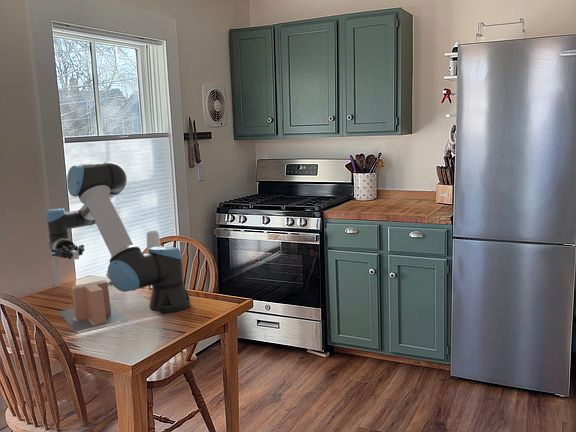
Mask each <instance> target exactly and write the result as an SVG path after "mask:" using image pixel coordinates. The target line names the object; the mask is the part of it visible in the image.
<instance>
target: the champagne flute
mask: <svg viewBox="0 0 576 432" xmlns="http://www.w3.org/2000/svg"><path fill="white" fill-rule="evenodd" d="M161 244H162V243H161V240H160V234H159V231H158V230H149V231H147V232H146V254H147V253H149V252H148V250H149V248H151V247H162V245H161ZM150 288H151V289H153V288H152V285H150Z"/></svg>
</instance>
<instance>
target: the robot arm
mask: <svg viewBox="0 0 576 432" xmlns="http://www.w3.org/2000/svg"><path fill="white" fill-rule="evenodd" d="M66 175H67V177H66V185H67V190H68V193H69V194H70V196H71V197H75V198H76V197H78V198H79V202H81V203H82V204H83V205H82V206H81V208H79V209H77V210H70V211H65V210H66V209H65V208H62V207H60V208H52V209H48V210H47V211H46V224H47V230H48V237H49V239H48V240H49V241H48V246H49V250H50V251H51V252H50V253H51V256H52V257H58V258H62V259H68V260H72V259H73V260H75V261H76V260H79V259H80V256H82V255H83V252H85V251H86V250H85V246H84V244H81V245H76V244H75V243H74V242H73V241H71V240H70V239H69V234H68V233H69V232H68V230H71V229H76V228H83V227H92V226H93V225H96V226H97V228H98V229H97V230H98V231H99V233H100V236H101V237H102V240H103V241H104V243H105V245H106V247H107V249H108V252H109V254H110V259H109V264H108V267H107V271H108V273H109V278H110V279H109V278H108V279H109V280H110V282H111V284H112V285H113V286H114V287H115V289H117V290H118V291H120V292H124V293H125V292H134V291H137V290H140V289H142V288H146V287H151V286H152V288H151V289H152V291H151V296H150V300H149V304H148V305H149V309H150V310H152V311H155V312H160V313H161V314H167V313H168V314H170V313H176V312H179V311H183V310H185V309H187V308H189V307H190V306H191V299H190V296H189V294H188V293H189V292H188V291H187V290H186V287H185V283H184V282H185V281H184V272H183V263H182V262H183V261H182V260H183V259H182V255H181V250H180V248H177V247H174V246H161V247H151V248H149V250H148V252H149V253H147V252H146V253H143V252H142V249H141V248H140V247H138V246H135V245H134V243H133V241H132V239H131V238H130V235H129V232H128V231H127V229H126V228H125V225H124V223H123V221H122V218H120V215H119V213H118V211H117V210H116V207H115V206H114V203H113V201H112V199H113V198H114V197H115V196H118V195H119V194H121V193H122V191H124V189H125V187H126V185H127V182H128V178H127V173H126V172H125V169H124V168H123V167H122V166H121V165H119V164H118V163H116V162H112V161H103V162H95V163H94V162H93V163H85V164H83V163H79V164H76V165H72V166H71V167H70V168H69V169H68V172H67V174H66Z"/></svg>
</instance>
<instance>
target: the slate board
mask: <svg viewBox="0 0 576 432" xmlns="http://www.w3.org/2000/svg"><path fill="white" fill-rule="evenodd" d="M110 307H111V314H108V315H106V321H107V322H106V323H102V324H98V325H95V324H94V323H93V322H92V321H91V320H90V319H85V320H81V321H77V320H76V319H75V314H74V308H70V309H65V310H61V311H58V313H59V314H60V315H61V316H62V317H63V318H64V320H65V321H66V323H67V324H68V325H69V326H70V328H72V331H74V332H78V333H76V335H77V334H79V331H82V330H83V331H82V332H80V334H82V333H87V332H90V331H92V328H94V329H93V331H95V330H96V329H95V327H99V328H97V330H98V329H103V328H108V327H109V324H112V325H110V327H112V326H113V323H116V324H114V326H116V325H120V324H124V323H126V321H125V320H128V318H127V317H125V316H124V315H123V314H122V313H121V312H119V310H117V309H116V308H115V307H114V306H113V305H112V304H110ZM122 321H124V322H122ZM117 322H120V323H117ZM104 325H107V326H104ZM100 326H103V327H100ZM88 329H90V330H88ZM84 330H86V331H84Z"/></svg>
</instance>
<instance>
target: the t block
mask: <svg viewBox="0 0 576 432" xmlns="http://www.w3.org/2000/svg"><path fill="white" fill-rule="evenodd" d="M70 288H71V289H70V290H71V296H72V305H73V309H74V314H75V319H76V320H77V321H81V320H85V319H90V320H91V321H92V322H93V323H94V324H95V325H98V324H102V323H106V322H107V321H106V315H108V314H111V307H110V305H111V302H110V299H111V298H110V293H109V284H108V281H107V280H105V279H103V280H98V281H94V282H87V283H84V284H78V285H72V286H70Z"/></svg>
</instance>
